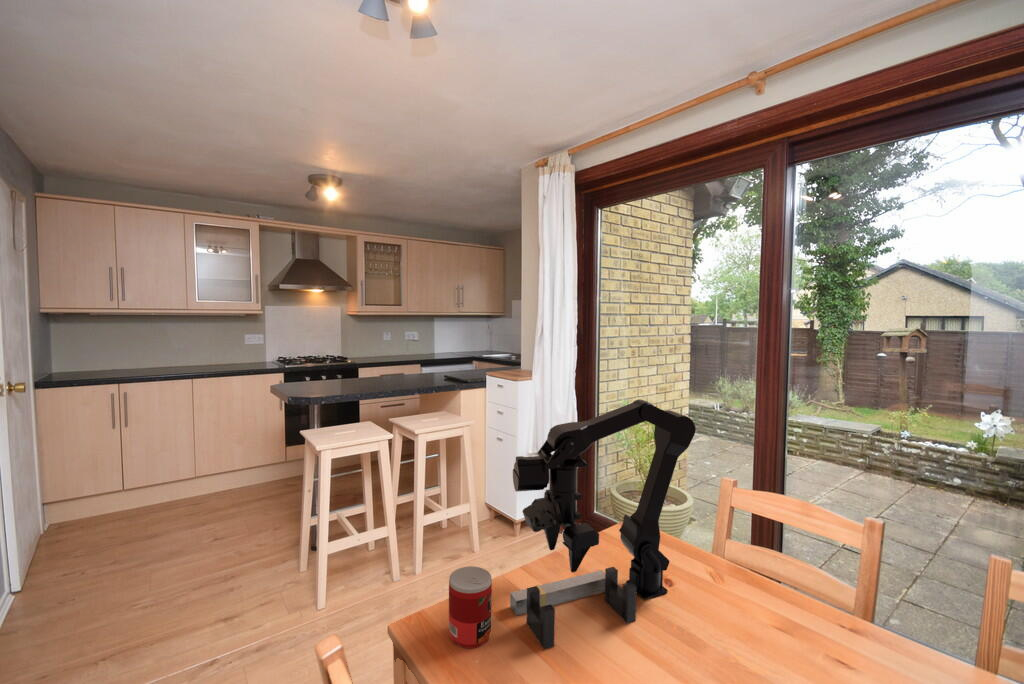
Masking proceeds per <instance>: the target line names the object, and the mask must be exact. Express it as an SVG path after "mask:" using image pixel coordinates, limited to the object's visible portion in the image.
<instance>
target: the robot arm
mask: <svg viewBox="0 0 1024 684" xmlns="http://www.w3.org/2000/svg"><path fill="white" fill-rule="evenodd" d="M644 422H648V423H649V424H651V425H653V426H654V430H653V439H654V445H655V447H654V448H655V449H654V452H653V457H652V460H651V463H650V465H649V469H648V472H647V476H646V479H645V482H644V485H643V489H642V492H641V494H640V498H639V501H638V505H637V508H636V510H635V511H634V513H632V514H631V515H628V514H625V515H624V516H623V519H622V523H621V524H622V525H621V527H620V528H619V529H618V532H619V533H620V541H621V544H623V546H624V547H625V549H627V551H628V553H629V554H630V555H632V557H633V559H631V560H630V567H629V574H628V575H629V577H628V580H626V581H625V584H627V583H630V582H632V583H633V584H634V585H635V586H636V595H638V596H639V597H641V599H643V600H648V599H652V598H655V597H658V596H661V595H665V594H668V593H669V591H668V589H667V588H666V587H664V585H663V583H664V582H663V577H664V571H667V570H668V567H669V565H670V560H669V558H667V557H666V556H665V555H664V554H663V553H662V551H660V550H659V549H660V543H661V532H660V531H661V530H660V522H659V521H660V517H661V514H662V512H663V509H664V508H663V507H664V504H665V501H666V498H667V495H668V491H669V488H670V485H671V482H672V479H673V475H674V472H675V468H676V466H677V462H678V459H679V458H680V456H682V454H683V453H684V452H685V451H686V450H688V448H689V447H690V444H691V443H692V441H693V439H694V438H695V434H696V431H697V428H696V427H697V426H696V425H695V422H694V421H693V420H692V419H691V418H690V417H689V416H686V415H684V414H682V413H679V412H676V411H674V410H663V409H661V408H659V407H657V406H655V405H654V404H653V403H652V402H649V401H647V400H644V399H639V398H638V399H635V400H633V402H630V403H629V404H626V405H623V406H621V407H618V408H615V409H613V410H610V411H608V412H605V413H603V414H599V415H598V416H595V417H593V418H590V419H588V420H583V421H571V422H570V421H569V422H565V423H561V424H556V425H554V426H552V427H551V428H550V429H549V431H548V433H547V438H546V440H545V442H543V444H542V445H541V447H539V448H540V449H538V451H537V455H538V456H537V455H536V456H521V455H519V456H516V457H515V462H514V464H513V468H512V483H513V486H514V487H513V488H514V490H515V492H516V493H517V492H529V491H530V492H531V491H543V490H545V491H544V495H543V497H540V498H535V499H534V500H533V501H532V502H531V504H530V505H528V506H526V507H524V508H523V509H522V515H523V517H524V520H525V523H526V525H527V526H528V527H530V529H531V530H532V531H533V532H534V533H537V532H541V531H542V530H543V531H544V535H545V539H546V542H547V545H548V546H547V547H548V550H549V551H554V550H555V549H556V546H557V543H558V538H559V534H560V531H561V530H560V529H561V526H562V527H563V528H564V530H563V531H562V540H563V541H562V544H563V545H564V546H565V547H566V548H567V549H568V559H569V569H570V572H571V573H576V572H578V571H577V570H578V569H579V567H580V565H581V564H582V562H583V559H584V558H585V556H586V555H587V553H588V552H589V550H590V549H591V547H595V546H598V545H599V544H600V533H599V532H598V531H597V530H596V529H595V528H594V527H592V526H591V525H590V524H588V523H587V522H582V523H577V522H576V520H580V519H582V518H581V517H582V513H580V512H579V511H578V501H579V500H582V494H581V493H580V492H578V468H587V467H588V463H587V462H586V461H585V460H584V459H583V458H582V455H581V454H582V453H584V452H586V451H587V450H588V449H589V448H590V447H591V446H592V445H593V444H594V443H595V442H598V441H600V440H602V439H604V438H607V437H610V436H612V435H615V434H617V433H619V432H622V431H625V430H626V429H629V428H632V427H634V426H636V425H639V424H642V423H644ZM548 485H549V487H548ZM545 488H546V489H545ZM547 488H548V489H547Z"/></svg>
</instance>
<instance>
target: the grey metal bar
mask: <svg viewBox="0 0 1024 684" xmlns="http://www.w3.org/2000/svg"><path fill="white" fill-rule="evenodd" d="M536 586H537V587H538V589H539V590H540V607H542V606H546V605H549V604H551V605H552V606H553V607H554V606H557V605H558V606H559V605H561V603H562V604H565V603H568V602H573V601H575V600H580V599H583V597H584V598H587V596H588V597H591V596H594V595H593V594H595V595H598V593H599V594H601V593H605V571H603V570H602V569H601V570H597V571H593V572H592V571H591V572H588V573H584V574H580V575H577V576H573V577H568V578H565V579H559V580H556V581H552V582H548V583H544V584H538V585H536ZM590 595H591V596H590ZM509 600H510V601H509V603H510V604H509V606H510V608H511V610H512V611H513V613H514V615H515V616H520V615H525V614H527V588H523V589H519V590H517V591H511V592H510V599H509ZM564 602H565V603H564Z"/></svg>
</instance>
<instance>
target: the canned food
mask: <svg viewBox="0 0 1024 684" xmlns="http://www.w3.org/2000/svg"><path fill="white" fill-rule="evenodd" d="M448 579H449V580H448V633H449V637H450V639H451V641H452V642H453V643H454V644H455V645H457V646H459V647H461V648H465V649H474V648H478V647H480V646H481V647H482V646H483V645H484V644H486V643H487V642H488V641H489V639H490V636H491V634H492V602H493V599H492V598H493V596H492V593H493V592H492V590H493V587H492V586H493V585H492V581H493V579H492V574H491V573H490V572H489V571H488V570H486V569H485V568H482V567H479V566H463V567H460V568H459V567H458V568H457V569H455V570H453V571H452V572H451V573H450V575H449V578H448Z"/></svg>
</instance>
